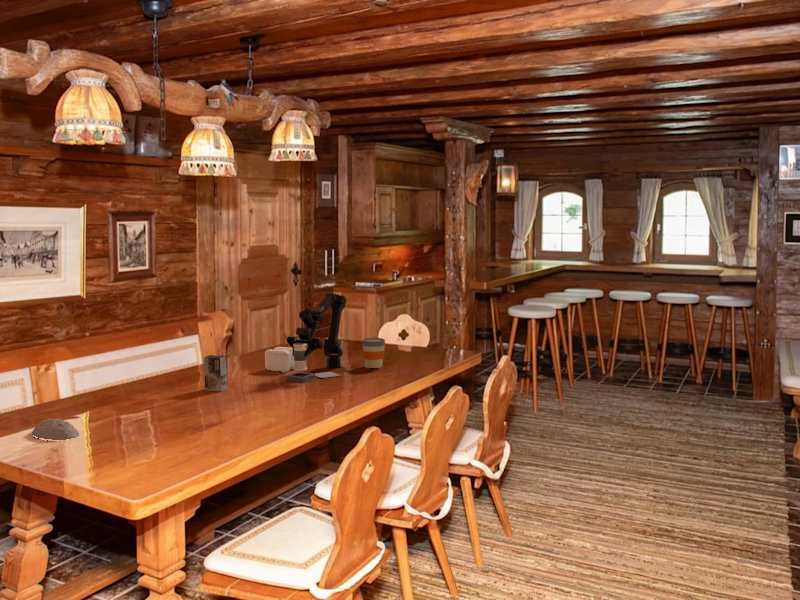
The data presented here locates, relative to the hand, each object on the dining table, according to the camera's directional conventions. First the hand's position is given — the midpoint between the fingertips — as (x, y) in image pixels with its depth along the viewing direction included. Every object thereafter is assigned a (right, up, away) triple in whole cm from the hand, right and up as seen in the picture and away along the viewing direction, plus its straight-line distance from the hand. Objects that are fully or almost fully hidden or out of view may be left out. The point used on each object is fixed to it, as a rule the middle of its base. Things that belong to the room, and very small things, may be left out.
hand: (298, 356), depth 388 cm
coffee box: (-36, -15, -19) cm, 44 cm away
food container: (-80, -24, -93) cm, 125 cm away
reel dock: (+1, -12, +3) cm, 12 cm away
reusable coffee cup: (+36, -9, +34) cm, 51 cm away
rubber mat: (+12, -11, +12) cm, 20 cm away
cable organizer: (-13, -10, +27) cm, 31 cm away
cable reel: (+1, -7, +2) cm, 7 cm away
